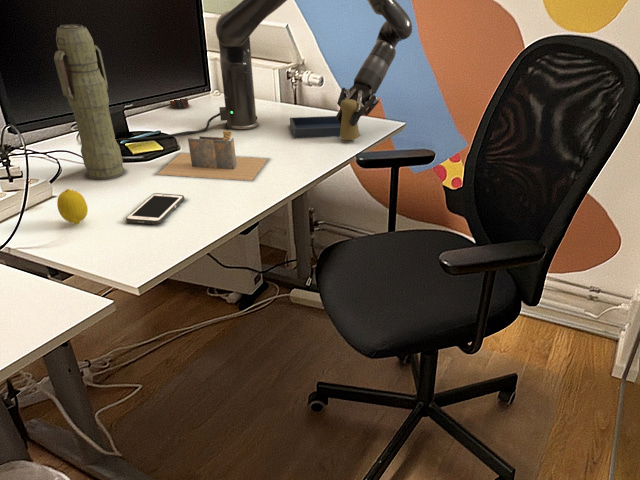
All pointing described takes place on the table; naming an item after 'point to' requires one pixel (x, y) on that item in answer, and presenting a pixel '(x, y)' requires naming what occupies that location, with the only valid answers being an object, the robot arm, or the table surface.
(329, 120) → the pan
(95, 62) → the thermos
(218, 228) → the table surface
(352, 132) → the cork
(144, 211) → the cell phone
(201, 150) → the architectural model on board
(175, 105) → the black red jagged block
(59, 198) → the lemon
